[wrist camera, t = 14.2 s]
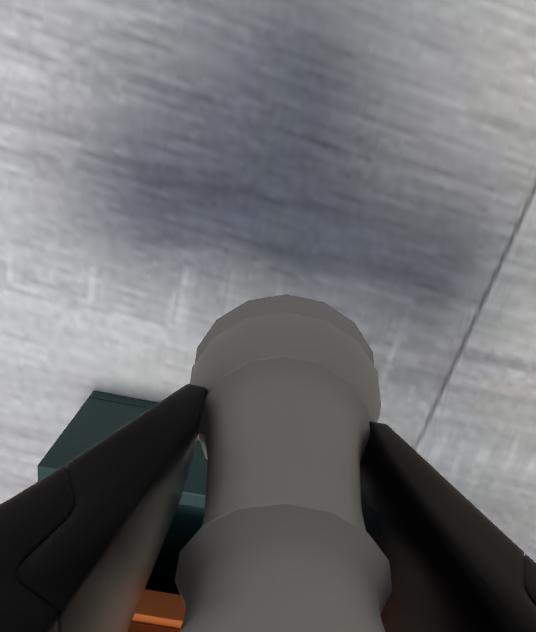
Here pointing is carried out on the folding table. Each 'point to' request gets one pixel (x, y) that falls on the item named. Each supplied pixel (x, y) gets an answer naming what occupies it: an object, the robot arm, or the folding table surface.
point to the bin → (98, 423)
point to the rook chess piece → (284, 475)
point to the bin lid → (158, 613)
